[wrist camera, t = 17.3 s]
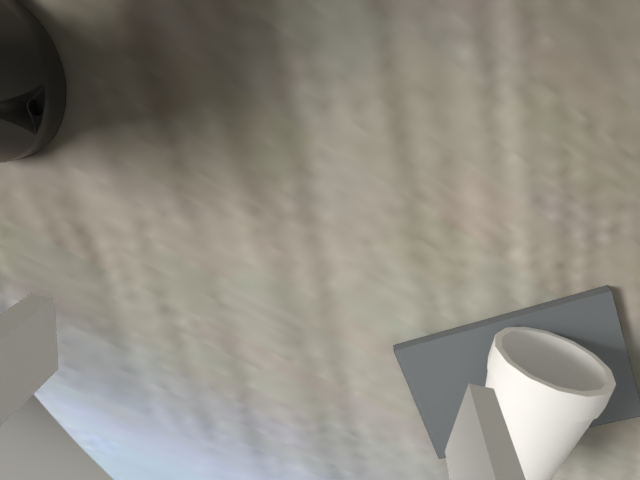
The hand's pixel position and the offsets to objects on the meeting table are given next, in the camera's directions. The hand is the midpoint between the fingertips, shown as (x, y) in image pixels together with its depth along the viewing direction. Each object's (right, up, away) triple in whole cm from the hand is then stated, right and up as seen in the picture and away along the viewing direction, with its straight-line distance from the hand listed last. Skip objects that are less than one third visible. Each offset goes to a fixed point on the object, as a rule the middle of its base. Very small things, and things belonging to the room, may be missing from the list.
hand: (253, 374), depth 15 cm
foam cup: (+19, -18, +29) cm, 39 cm away
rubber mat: (+21, -9, +32) cm, 39 cm away
